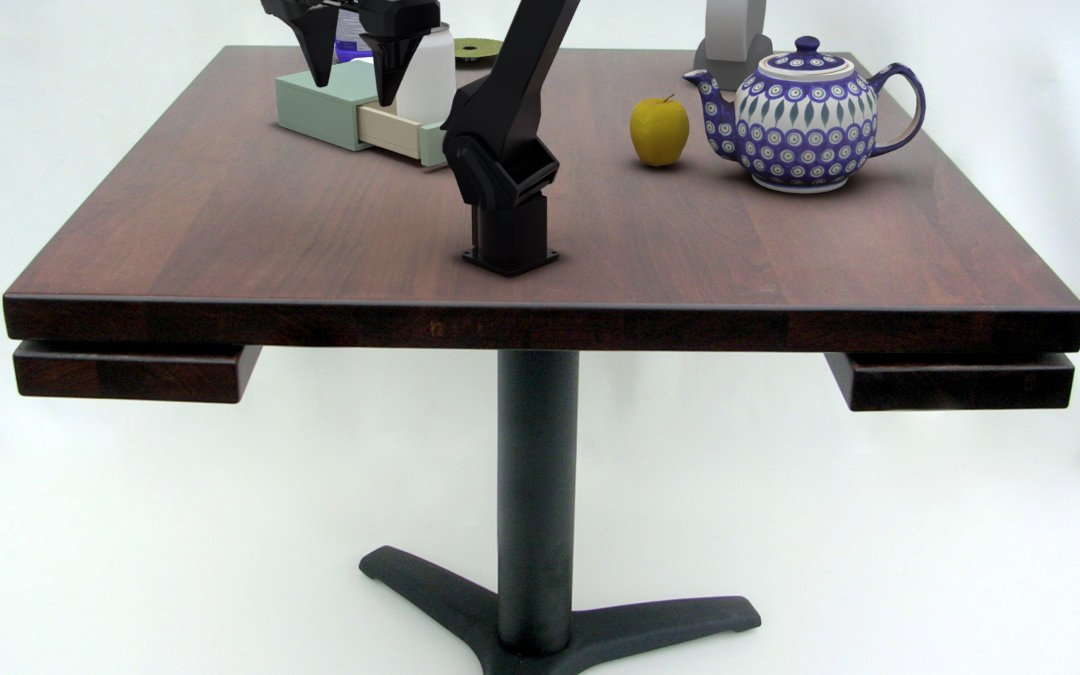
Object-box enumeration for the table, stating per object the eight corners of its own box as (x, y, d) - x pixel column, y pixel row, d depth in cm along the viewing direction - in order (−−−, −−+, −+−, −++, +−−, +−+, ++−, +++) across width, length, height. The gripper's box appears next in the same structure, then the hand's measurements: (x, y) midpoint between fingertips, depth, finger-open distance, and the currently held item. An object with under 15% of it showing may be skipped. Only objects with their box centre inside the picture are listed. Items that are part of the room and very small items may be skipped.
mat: (461, 75, 181) (461, 60, 180) (412, 59, 189) (411, 45, 188) (526, 61, 188) (526, 47, 187) (476, 46, 195) (476, 33, 195)
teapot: (904, 157, 149) (920, 21, 143) (932, 204, 136) (952, 56, 129) (674, 153, 150) (680, 18, 144) (680, 199, 137) (687, 52, 131)
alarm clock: (707, 60, 188) (714, -77, 181) (781, 65, 186) (792, -73, 178) (681, 89, 175) (687, -58, 167) (760, 96, 172) (771, -53, 164)
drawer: (534, 153, 148) (534, 117, 146) (458, 177, 141) (457, 138, 139) (424, 120, 159) (423, 86, 157) (349, 140, 152) (347, 104, 150)
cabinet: (437, 128, 159) (435, 80, 157) (354, 151, 151) (351, 101, 149) (360, 105, 168) (358, 59, 166) (278, 125, 160) (274, 77, 158)
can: (386, 138, 150) (380, 28, 144) (419, 123, 155) (415, 16, 150) (436, 146, 147) (432, 35, 142) (467, 131, 152) (465, 23, 147)
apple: (697, 171, 145) (701, 97, 142) (640, 176, 143) (643, 102, 140) (675, 153, 151) (678, 82, 147) (620, 158, 149) (622, 86, 146)
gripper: (200, -85, 117) (218, 93, 124) (334, -59, 106) (346, 136, 112) (306, -98, 125) (318, 71, 131) (442, -75, 113) (447, 109, 119)
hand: (353, 96), depth 123 cm, fingers open, 9 cm apart
